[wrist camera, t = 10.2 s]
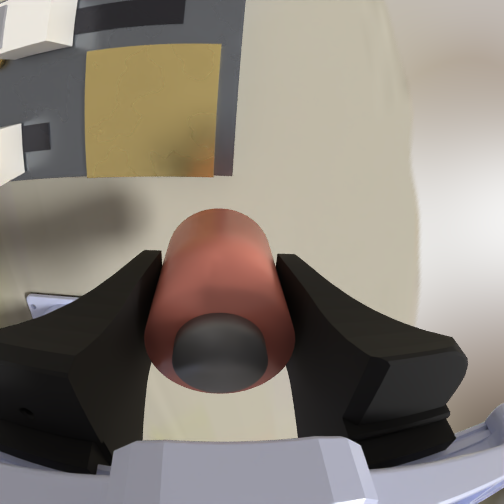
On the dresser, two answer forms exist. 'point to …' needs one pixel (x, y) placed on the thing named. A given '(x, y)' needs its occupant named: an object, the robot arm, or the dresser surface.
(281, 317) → the cap
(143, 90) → the panel
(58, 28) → the block
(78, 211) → the dresser surface
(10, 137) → the block
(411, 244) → the dresser surface
